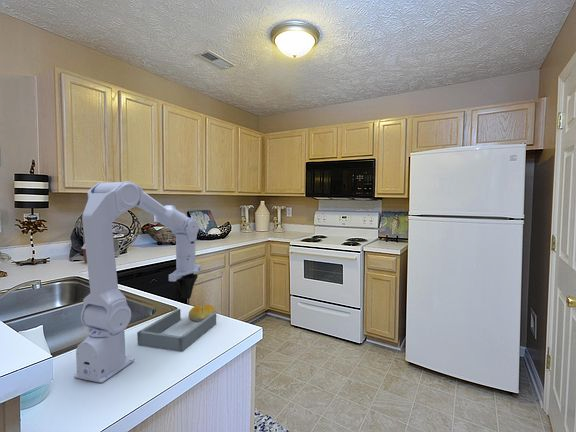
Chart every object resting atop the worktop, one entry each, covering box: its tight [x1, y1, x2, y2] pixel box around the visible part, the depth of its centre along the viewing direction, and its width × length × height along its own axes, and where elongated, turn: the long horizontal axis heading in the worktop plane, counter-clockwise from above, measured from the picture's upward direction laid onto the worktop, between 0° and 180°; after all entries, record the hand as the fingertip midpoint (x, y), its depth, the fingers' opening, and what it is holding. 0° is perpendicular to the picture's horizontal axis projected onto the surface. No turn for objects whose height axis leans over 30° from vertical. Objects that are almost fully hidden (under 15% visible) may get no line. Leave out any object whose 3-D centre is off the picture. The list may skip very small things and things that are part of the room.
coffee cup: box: [81, 243, 88, 266], centre depth 184 cm, size 9×9×12 cm
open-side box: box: [136, 308, 217, 352], centre depth 89 cm, size 18×14×4 cm
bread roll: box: [188, 304, 217, 322], centre depth 101 cm, size 8×9×4 cm
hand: (186, 298), depth 95 cm, fingers closed
